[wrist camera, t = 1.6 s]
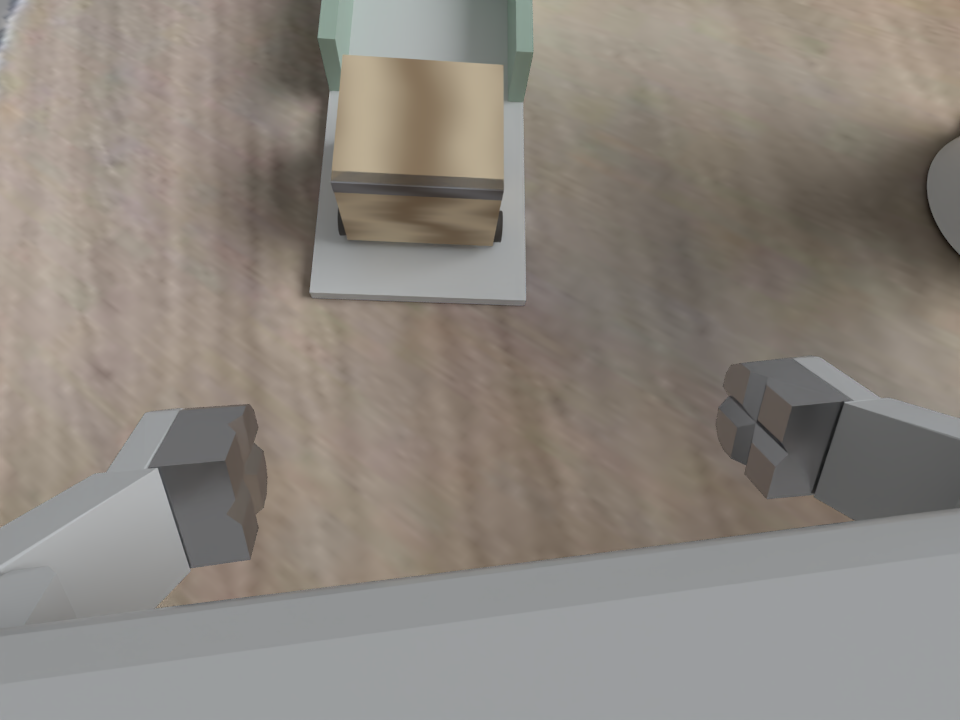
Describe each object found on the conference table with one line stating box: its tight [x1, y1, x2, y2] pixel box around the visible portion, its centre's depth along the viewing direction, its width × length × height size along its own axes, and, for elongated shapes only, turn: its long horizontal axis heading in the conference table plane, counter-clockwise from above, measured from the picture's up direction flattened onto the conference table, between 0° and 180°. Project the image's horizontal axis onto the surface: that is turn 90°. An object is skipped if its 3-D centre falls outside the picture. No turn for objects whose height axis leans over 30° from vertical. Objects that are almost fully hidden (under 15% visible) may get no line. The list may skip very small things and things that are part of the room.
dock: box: [310, 0, 533, 306], centre depth 43 cm, size 15×30×6 cm, turn 0°
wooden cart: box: [331, 55, 504, 246], centre depth 39 cm, size 11×9×8 cm
